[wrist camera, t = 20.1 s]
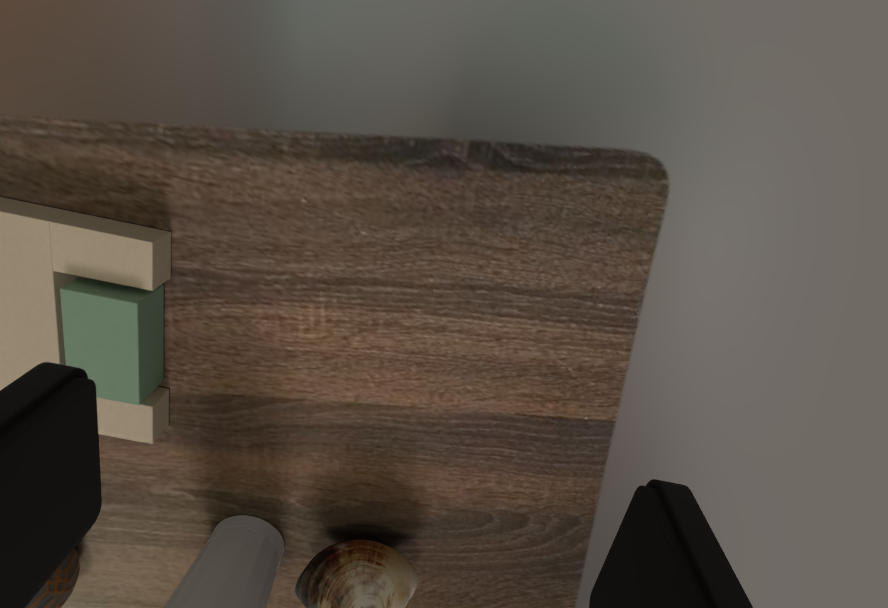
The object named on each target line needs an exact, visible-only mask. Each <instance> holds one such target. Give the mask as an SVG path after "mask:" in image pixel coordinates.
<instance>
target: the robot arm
mask: <svg viewBox="0 0 888 608" xmlns="http://www.w3.org/2000/svg"><path fill="white" fill-rule="evenodd" d="M101 502H102V499H101V478H100V458H99V437H98V416H97V396H96V385H95V382H94V381H93V380H91V379H88V376H87V373H86V372H85V370H83V369H81V368H77V367H72V366H67V365H61V364H56V363H51V362H43V363H40V364H38V365H37V366H35V367H34V368H32V369H31V370H29V371H28V372H26V373H25V374H24V375H22V376H21V377H19V378H18V379H16V380H15V381H13V382H12V383H11V384H9V385H8V386H6V387H5V388H3V389H2V390H0V608H25V607H26V606H27V605H28V604H29V603H30V601H31V600H32V599H33V598H34V596H35V595H36V594H37V593H38V592H39V590H40V589H41V588H42V587H43V585H44V584H45V583H46V582H47V581H48V579H49V578H50V577H51V576H52V574H53V573H54V572H55V571H56V570H57V568H58V567H59V566H60V565H61V563H62V562H63V561H64V560H65V559H66V557H67V556H68V555H69V554H70V552H71V551H72V550H73V549H74V548H75V546H76V545H77V544H78V543H79V541H80V540H81V539H82V538H83V537H84V535H85V534H86V533H87V532H88V530H89V529H90V528H91V527H92V525H93V524H94V523H95V521H96V519H97V517H98V515H99V512H100V509H101ZM589 608H753V607H752V605H751V603H750V601H749V599H748V597H747V596H746V594H745V592H744V590H743V588H742V586H741V584H740V582H739V580H738V579H737V577H736V575H735V573H734V571H733V569H732V567H731V565H730V564H729V562H728V560H727V558H726V556H725V554H724V552H723V550H722V548H721V547H720V545H719V543H718V541H717V539H716V537H715V535H714V533H713V532H712V530H711V528H710V526H709V524H708V522H707V520H706V518H705V516H704V515H703V513H702V511H701V509H700V507H699V505H698V503H697V502H696V499H695V498H694V496H693V494H692V492H691V490H690V489H689V488H688V487H687V486H685V485H681V484H676V483H671V482H666V481H661V480H655V479H654V480H651V481H649V482H648V484H647V485H646V486H639V487H638V488H637V490H636V491H635V493H634V496H633V498H632V500H631V502H630V505H629V507H628V510H627V512H626V514H625V516H624V518H623V521H622V523H621V525H620V528H619V530H618V532H617V535H616V537H615V539H614V541H613V544H612V546H611V548H610V551H609V553H608V555H607V557H606V560H605V562H604V564H603V567H602V569H601V571H600V574H599V576H598V578H597V581H596V583H595V585H594V587H593V590H592V593H591V596H590V604H589Z"/></svg>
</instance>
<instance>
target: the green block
mask: <svg viewBox="0 0 888 608" xmlns="http://www.w3.org/2000/svg"><path fill="white" fill-rule="evenodd" d="M60 297H61V310H62V323H63V336H64V348H65V361H66V365H67V366H72V367H77V368H81V369H83V370H85V372H86V373H87V376H88V379H91V380H93V381H94V382H95V385H96V396H97V398H102V399H108V400H113V401H118V402H123V403H129V404H134V405H140V404H141V403H142V402H143V401H144V400H145V399H146V398H147V397H148V396H149V395H150V394H151V393H152V392H153V391H154V390H155V389H156V388H157V386H158V385H159V384H160V383H161V382H162V381H163V380H164V284H161V285H160V286H158V287H157V288H155V289H154V290H153V291H151V290H146V289H141V288H136V287H131V286H126V285H121V284H116V283H111V282H106V281H101V280H96V279H91V278H86V277H80V278H78V279H76V280H74V281H72V282H70V283H69V284H67V285H65V286H63V287H61V288H60Z"/></svg>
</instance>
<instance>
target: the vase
mask: <svg viewBox="0 0 888 608" xmlns="http://www.w3.org/2000/svg"><path fill="white" fill-rule="evenodd" d="M79 570H80V564H79V557H78V554H77V551H76V549H75V548H74V549H73V550H72V551H71V552H70V554H69V555H68V556H67V557H66V559H65V560H64V561H63V562H62V563H61V565H60V566H59V567H58V568H57V570H56V571H55V572H54V573H53V574H52V576H51V577H50V578H49V579H48V581H47V582H46V583H45V584H44V585H43V587H42V588H41V589H40V590H39V592H38V593H37V594H36V595H35V596H34V598H33V599H32V600H31V601H30V603H29V604H28V605H27V606H26V607H25V608H61V607H62V606H63V605H64V603H65V602H66V600H67V599H68V597H69V596H70V594H71V593H72V591H73V589H74V587H75V584H76V582H77V579H78V575H79Z"/></svg>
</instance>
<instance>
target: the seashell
mask: <svg viewBox="0 0 888 608" xmlns="http://www.w3.org/2000/svg"><path fill="white" fill-rule="evenodd" d="M416 585H417V573H416V571H415V569H414V568H413V566H412V565H411V564H410V562H409V561H408V560H407V559H406V558H405V557H404V556H403V555H401V554H400V553H399V552H397V551H396V550H395V549H393V548H391V547H389V546H387V545H384V544H382V543H379V542H375V541H371V540H362V539H359V540H349V541H344V542H340V543H337V544H334V545H331V546H329V547H327V548H326V549H324V550H322V551H321V552H320V553H318V554H317V555H316V556H315V557H314V558H313V559H312V560H311V561H310V563H309V564H308V565H307V567H306V568H305V569H304V571H303V572H302V574H301V575H300V577H299V579H298V581H297V584H296V589H295V591H296V595H297V597H298V598H299V600H300V601H301V602H302V603H303V604H304V605H305V607H306V608H405V607H406V605H407V603H408V601H409V600H410V598H411V597H412V595H413V594H414V592H415V589H416Z"/></svg>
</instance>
